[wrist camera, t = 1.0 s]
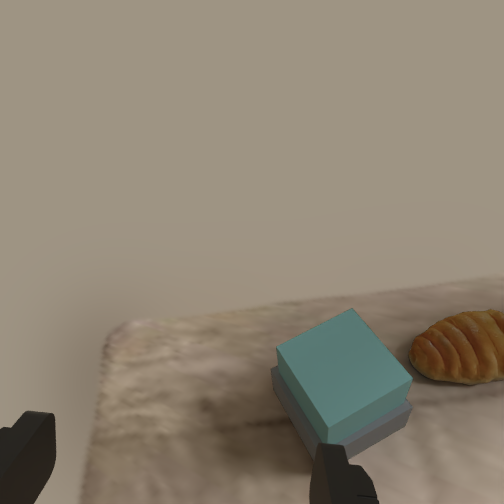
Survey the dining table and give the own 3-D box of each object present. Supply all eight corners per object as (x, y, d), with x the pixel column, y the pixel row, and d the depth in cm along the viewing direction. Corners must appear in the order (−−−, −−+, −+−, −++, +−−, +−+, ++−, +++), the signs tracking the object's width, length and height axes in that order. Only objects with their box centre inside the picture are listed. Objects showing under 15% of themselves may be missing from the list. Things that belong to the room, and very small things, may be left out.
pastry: (428, 403, 36) (438, 382, 33) (394, 337, 41) (400, 314, 38) (531, 378, 36) (548, 355, 34) (485, 316, 41) (497, 291, 38)
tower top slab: (348, 335, 37) (352, 308, 34) (403, 403, 32) (412, 378, 29) (278, 372, 35) (276, 346, 32) (326, 449, 30) (328, 427, 27)
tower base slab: (348, 352, 40) (350, 329, 37) (404, 427, 35) (412, 407, 32) (273, 390, 38) (270, 369, 35) (321, 476, 33) (322, 459, 30)
